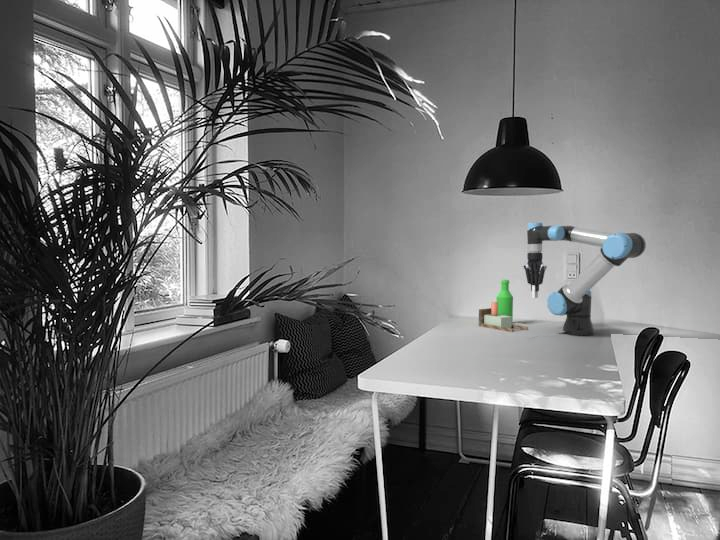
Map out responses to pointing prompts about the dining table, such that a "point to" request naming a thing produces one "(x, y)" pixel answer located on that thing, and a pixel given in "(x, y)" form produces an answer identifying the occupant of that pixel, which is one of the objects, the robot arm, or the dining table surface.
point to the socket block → (498, 320)
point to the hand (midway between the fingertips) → (535, 297)
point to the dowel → (494, 308)
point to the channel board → (481, 323)
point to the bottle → (505, 300)
